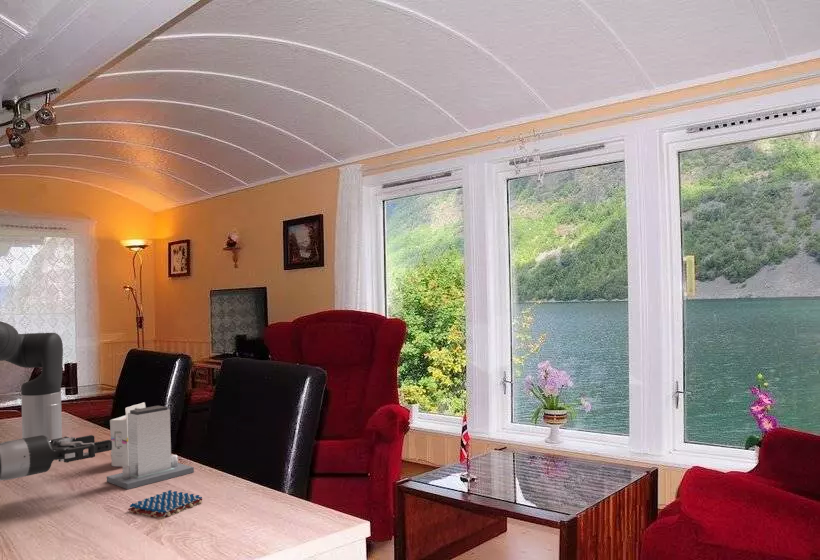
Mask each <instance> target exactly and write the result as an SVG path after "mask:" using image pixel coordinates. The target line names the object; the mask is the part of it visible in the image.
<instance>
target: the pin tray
mask: <svg viewBox="0 0 820 560" xmlns="http://www.w3.org/2000/svg"><path fill="white" fill-rule="evenodd" d="M121 468H122V472H120V473H116V474H111V475H107V476H106V483H110V484H112V485H115V486H117V487H121V488H122V489H124V490H131V489H134V488H138V487H142V486H147V485H151V484H155V483H158V482H161V481H166V480H170V479H173V478H174V479H175V478H177V477H181V475H182V476H184V475H188V474H192V473H195V467H193V466H192V465H191V466H190V465H188V464H187V465H186V464H184V463H181V462H178V455H177V454H171V469H170V470H166V471H162V472H158V473H154V474H149V475H145V476H141V477H136V476H133V475H130V466H123V467H121Z"/></svg>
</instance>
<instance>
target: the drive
mask: <svg viewBox="0 0 820 560" xmlns="http://www.w3.org/2000/svg"><path fill="white" fill-rule="evenodd" d="M171 439H172V438H171V409H170V408H169V409H168V407H167V406H162V405H154V406H148V407H147V406H146V408H141V409H136V408H135V410H130V413H128V456H129V466H130V475H133V476H136V477H141V476H145V475H149V474H154V473H158V472H162V471H166V470H170V469H171V455H172V442H171V441H172V440H171Z"/></svg>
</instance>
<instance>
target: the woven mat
mask: <svg viewBox="0 0 820 560" xmlns="http://www.w3.org/2000/svg"><path fill="white" fill-rule="evenodd" d="M202 503H203V497H202V496H200V494H196V495H195V494H194V493H191V494H189V493H188V492H185V493H183V491H180V492H178V491H177V490H175V491H172V490H171V489H169V490H167V491H162V492H161V493H158V494H155V495H154V496H150V497H148V498H147V497H146V498H144V499H142V500H138V501H136V502H135V503H133V502H132V503H131V504H130V505H129V508H128V509H127V510H128V512H129V513H131V514H132V513H133V514H137V515H142V516H147V517H152V518H158V519H164V520H165V519H167V517H171V516H175V515H176V514H179V513H181V512H184V510H188V509H189V508H190V509H191V508H193V507H197V506H198V505H202Z"/></svg>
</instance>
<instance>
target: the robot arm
mask: <svg viewBox="0 0 820 560" xmlns="http://www.w3.org/2000/svg"><path fill="white" fill-rule="evenodd" d="M63 356H64V345H63V340H62V337H61V336H60V334H58V333H57V332H33V333H30V332H29V333H19V332H18V330H17V329H16V328H15V327H14V326H13V325H11V324H9V323H7V322H5V321H1V320H0V362H3V361H4V362H8V363H10V364H13V365H15V366H18V367H20V368H26V369H33V368H35V369H37V368H42V369H41V373H40V374H39V376H37V377H36V378H34V379H31V380H29V381H26V382H24V383H22V385H21V387H20V389H21V391H20V392H21V401H20V402H21V438H17V439H12V440H8V441H4V442H3V441H2V442H0V481H8V480H14V479H19V478H24V477H29V476H33V475H38V474H43V473H46V472H48V471H49V470H50V469H51V466H52V463H53V461H58V462H61V463H62V462H63V463H71V462H75V461H79V460H86V459H91V458H92V459H93V458H95V457H96V454H100V453H104V452H109V451H110V452H111V449H112V441H111V439H106V440H100V441H95V435H92V434H91V435H84V436H80V437H79V436H77V437H73V436H70V437H69V436H64V437H63V423H62V421H63V419H62V417H63V416H62V382H63V360H64V359H63V358H64V357H63ZM84 450H87V452H84Z"/></svg>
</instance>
